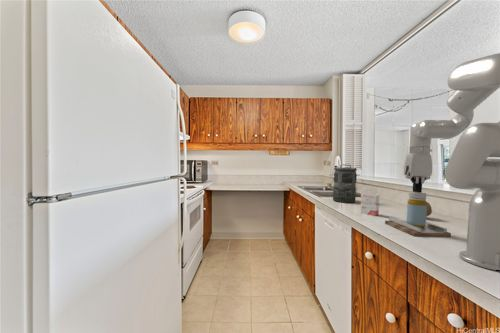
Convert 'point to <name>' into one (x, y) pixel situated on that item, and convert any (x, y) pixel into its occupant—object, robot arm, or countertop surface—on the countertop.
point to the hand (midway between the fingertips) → (417, 191)
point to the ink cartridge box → (369, 202)
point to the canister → (344, 184)
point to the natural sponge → (428, 209)
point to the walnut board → (415, 233)
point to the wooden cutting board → (427, 229)
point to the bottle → (417, 209)
